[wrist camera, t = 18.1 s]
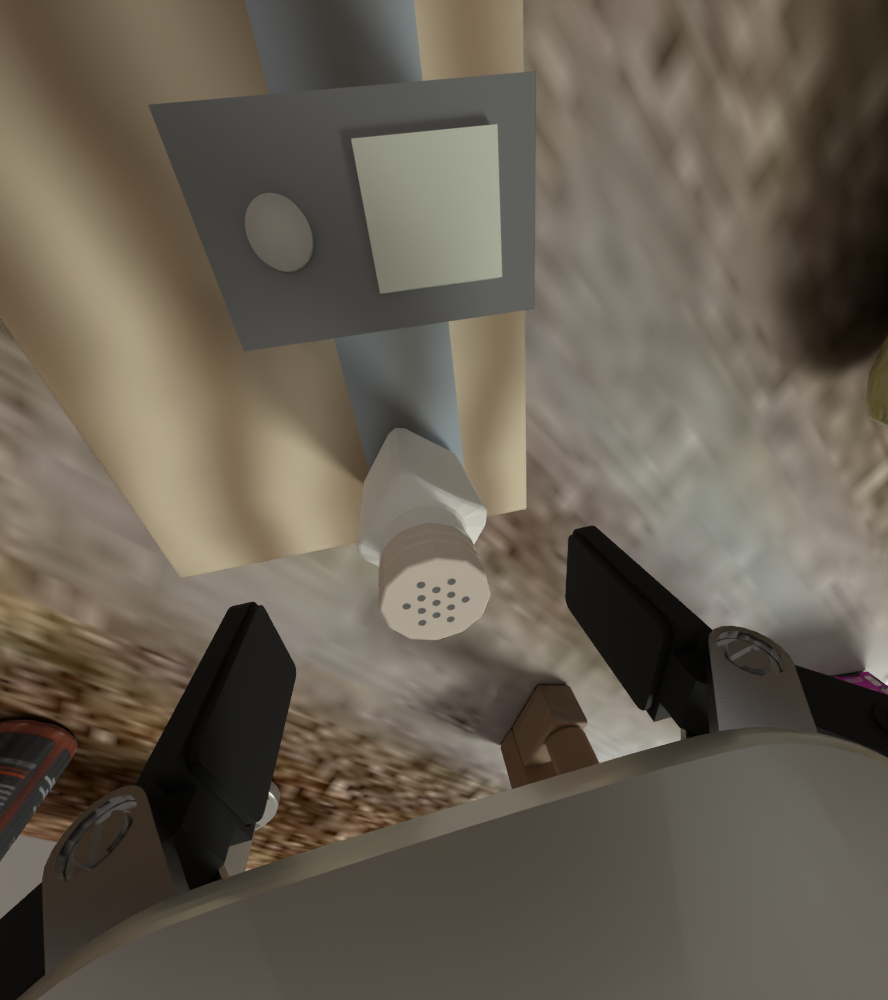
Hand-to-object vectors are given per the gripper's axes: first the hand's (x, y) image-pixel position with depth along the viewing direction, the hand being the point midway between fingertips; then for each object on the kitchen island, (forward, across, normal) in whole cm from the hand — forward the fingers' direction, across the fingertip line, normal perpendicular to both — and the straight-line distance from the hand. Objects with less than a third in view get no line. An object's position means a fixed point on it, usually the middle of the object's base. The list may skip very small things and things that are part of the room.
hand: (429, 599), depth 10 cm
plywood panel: (+10, +3, -7) cm, 12 cm away
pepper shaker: (+9, 0, -1) cm, 9 cm away
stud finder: (+8, -1, -10) cm, 13 cm away
